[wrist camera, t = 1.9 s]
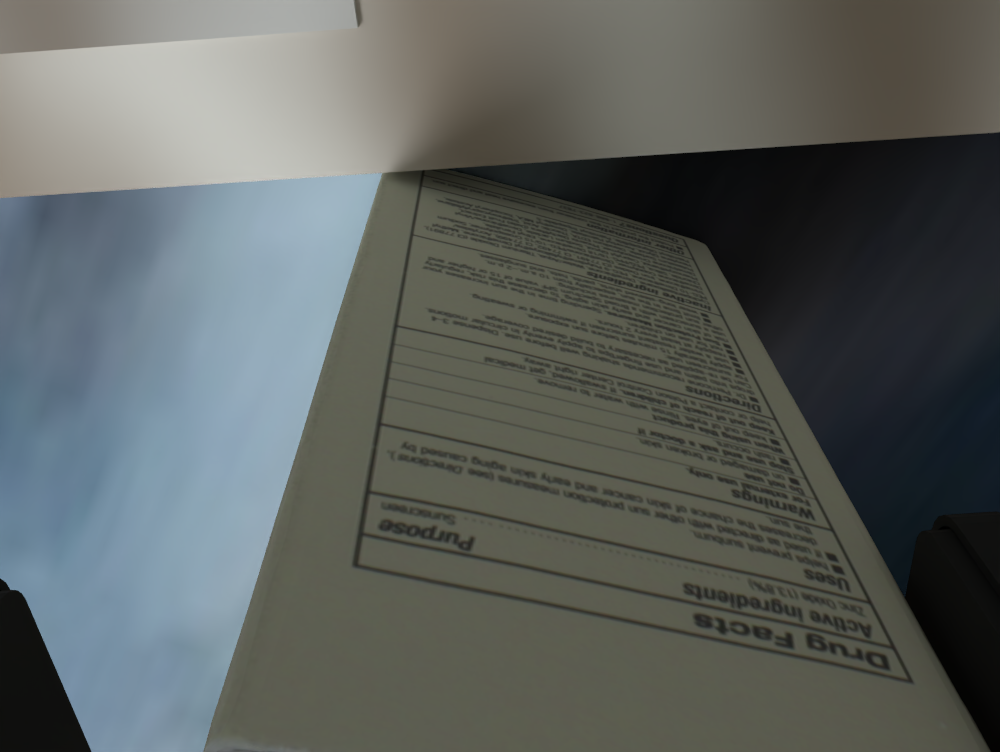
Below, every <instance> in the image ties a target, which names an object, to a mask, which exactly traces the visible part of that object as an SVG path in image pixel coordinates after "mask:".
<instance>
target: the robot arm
mask: <svg viewBox="0 0 1000 752" xmlns="http://www.w3.org/2000/svg"><path fill="white" fill-rule="evenodd" d="M905 600H906V601H907V603H908V605H909V607H910V608H911V610H912V612H913V614H914V616H915V617H916V619H917V621H918V623H919V625H920V626H921V628H922V630H923V632H924V633H925V635H926V637H927V639H928V641H929V642H930V644H931V646H932V648H933V650H934V651H935V653H936V655H937V657H938V659H939V660H940V662H941V664H942V666H943V668H944V669H945V671H946V673H947V675H948V676H949V678H950V680H951V682H952V684H953V685H954V687H955V689H956V691H957V693H958V694H959V696H960V698H961V700H962V701H963V703H964V705H965V706H966V708H967V709H968V711H969V713H970V714H971V716H972V718H973V720H974V722H975V723H976V725H977V727H978V729H979V731H980V733H981V734H982V736H983V738H984V740H985V742H986V743H987V745H988V747H989V749H990V751H991V752H1000V513H999V512H983V513H968V514H953V515H943V516H939V517H938V518H937V519H936V521H935V522H934V525H933V528H932V530H927V531H922V532H921V533H920V534H919V535H918V537H917V541H916V545H915V550H914V555H913V560H912V565H911V570H910V576H909V581H908V586H907V591H906V596H905ZM0 752H91V750H90V747H89V745H88V743H87V741H86V738H85V736H84V734H83V731H82V729H81V727H80V724H79V722H78V720H77V717H76V715H75V713H74V710H73V708H72V706H71V703H70V701H69V699H68V697H67V694H66V692H65V690H64V687H63V685H62V683H61V680H60V678H59V676H58V673H57V671H56V669H55V666H54V664H53V662H52V659H51V657H50V655H49V652H48V650H47V648H46V646H45V643H44V641H43V639H42V636H41V634H40V632H39V629H38V627H37V625H36V622H35V620H34V618H33V615H32V613H31V611H30V608H29V606H28V604H27V602H26V599H25V598H24V596H23V595H22V593H20V592H19V591H17V590H10V588H9V587H8V585H7V584H6V582H4V581H3V580H2V579H0Z"/></svg>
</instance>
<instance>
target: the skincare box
mask: <svg viewBox="0 0 1000 752" xmlns="http://www.w3.org/2000/svg"><path fill="white" fill-rule="evenodd" d="M204 752H991V751H990V749H989V747H988V745H987V743H986V742H985V740H984V738H983V736H982V734H981V733H980V731H979V729H978V727H977V725H976V723H975V722H974V720H973V718H972V716H971V714H970V713H969V711H968V709H967V708H966V706H965V705H964V703H963V701H962V700H961V698H960V696H959V694H958V693H957V691H956V689H955V687H954V685H953V684H952V682H951V680H950V678H949V676H948V675H947V673H946V671H945V669H944V668H943V666H942V664H941V662H940V660H939V659H938V657H937V655H936V653H935V651H934V650H933V648H932V646H931V644H930V642H929V641H928V639H927V637H926V635H925V633H924V632H923V630H922V628H921V626H920V625H919V623H918V621H917V619H916V617H915V616H914V614H913V612H912V610H911V608H910V607H909V605H908V603H907V601H906V600H905V598H904V596H903V594H902V592H901V591H900V589H899V587H898V585H897V583H896V582H895V580H894V578H893V576H892V575H891V573H890V571H889V569H888V567H887V566H886V564H885V562H884V560H883V558H882V556H881V555H880V553H879V551H878V549H877V547H876V546H875V544H874V542H873V540H872V538H871V537H870V535H869V533H868V531H867V529H866V527H865V526H864V524H863V522H862V520H861V519H860V517H859V515H858V513H857V512H856V510H855V508H854V506H853V504H852V503H851V501H850V499H849V497H848V496H847V494H846V492H845V490H844V489H843V487H842V485H841V483H840V482H839V480H838V478H837V476H836V474H835V473H834V471H833V469H832V467H831V465H830V464H829V462H828V460H827V458H826V456H825V455H824V453H823V451H822V449H821V447H820V446H819V444H818V442H817V440H816V438H815V437H814V435H813V433H812V431H811V429H810V428H809V426H808V424H807V422H806V421H805V419H804V417H803V415H802V413H801V412H800V410H799V408H798V406H797V405H796V403H795V401H794V399H793V398H792V396H791V394H790V393H789V391H788V389H787V387H786V386H785V384H784V382H783V380H782V378H781V377H780V375H779V373H778V371H777V369H776V368H775V366H774V364H773V362H772V360H771V359H770V357H769V355H768V353H767V351H766V350H765V348H764V346H763V344H762V343H761V341H760V339H759V337H758V335H757V334H756V332H755V330H754V328H753V327H752V325H751V323H750V322H749V320H748V318H747V316H746V315H745V313H744V311H743V309H742V307H741V305H740V304H739V302H738V300H737V298H736V297H735V295H734V293H733V291H732V289H731V287H730V285H729V284H728V282H727V280H726V279H725V277H724V275H723V274H722V272H721V270H720V268H719V266H718V265H717V263H716V261H715V259H714V257H713V256H712V254H711V252H710V250H709V249H708V247H707V246H706V245H705V244H703V243H701V242H699V241H697V240H694V239H690V238H687V237H684V236H681V235H677V234H674V233H671V232H668V231H665V230H662V229H660V228H656V227H653V226H649V225H646V224H643V223H640V222H637V221H633V220H630V219H627V218H623V217H620V216H617V215H614V214H610V213H607V212H603V211H600V210H596V209H593V208H589V207H586V206H583V205H579V204H576V203H572V202H568V201H565V200H561V199H557V198H554V197H550V196H546V195H543V194H539V193H536V192H532V191H528V190H525V189H521V188H517V187H514V186H510V185H506V184H502V183H498V182H494V181H491V180H487V179H483V178H479V177H475V176H472V175H468V174H464V173H460V172H455V171H451V170H447V169H433V170H417V171H402V172H387V173H382V176H381V179H380V183H379V186H378V189H377V192H376V195H375V198H374V202H373V205H372V208H371V211H370V215H369V218H368V221H367V224H366V227H365V230H364V234H363V237H362V240H361V243H360V247H359V250H358V253H357V256H356V259H355V263H354V266H353V269H352V272H351V275H350V279H349V282H348V285H347V288H346V292H345V295H344V298H343V301H342V304H341V308H340V311H339V314H338V317H337V320H336V324H335V327H334V330H333V333H332V337H331V340H330V343H329V347H328V350H327V353H326V357H325V360H324V363H323V367H322V370H321V373H320V377H319V380H318V383H317V387H316V390H315V393H314V396H313V400H312V403H311V406H310V410H309V413H308V417H307V420H306V423H305V427H304V430H303V433H302V437H301V440H300V443H299V446H298V450H297V453H296V456H295V459H294V462H293V466H292V469H291V472H290V475H289V478H288V482H287V485H286V488H285V491H284V494H283V498H282V501H281V504H280V507H279V510H278V514H277V517H276V520H275V523H274V527H273V530H272V533H271V536H270V540H269V543H268V546H267V549H266V553H265V556H264V559H263V562H262V565H261V569H260V572H259V575H258V578H257V582H256V585H255V588H254V591H253V595H252V598H251V601H250V604H249V608H248V611H247V614H246V617H245V620H244V623H243V626H242V629H241V633H240V636H239V639H238V642H237V645H236V648H235V651H234V654H233V657H232V661H231V664H230V667H229V670H228V673H227V676H226V679H225V682H224V685H223V689H222V692H221V695H220V698H219V701H218V704H217V707H216V710H215V713H214V716H213V720H212V723H211V727H210V730H209V734H208V737H207V741H206V745H205V748H204Z"/></svg>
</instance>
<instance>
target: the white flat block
mask: <svg viewBox="0 0 1000 752" xmlns="http://www.w3.org/2000/svg"><path fill="white" fill-rule="evenodd" d="M995 132H1000V0H0V198H7V197H22V196H37V195H52V194H67V193H83V192H98V191H113V190H128V189H144V188H159V187H174V186H189V185H204V184H220V183H235V182H250V181H265V180H280V179H296V178H311V177H326V176H341V175H357V174H372V173H387V172H402V171H417V170H433V169H448V168H463V167H478V166H493V165H509V164H524V163H539V162H554V161H569V160H585V159H600V158H615V157H630V156H646V155H661V154H676V153H691V152H706V151H722V150H737V149H752V148H767V147H782V146H798V145H813V144H828V143H843V142H858V141H874V140H889V139H904V138H919V137H935V136H950V135H965V134H980V133H995Z"/></svg>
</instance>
